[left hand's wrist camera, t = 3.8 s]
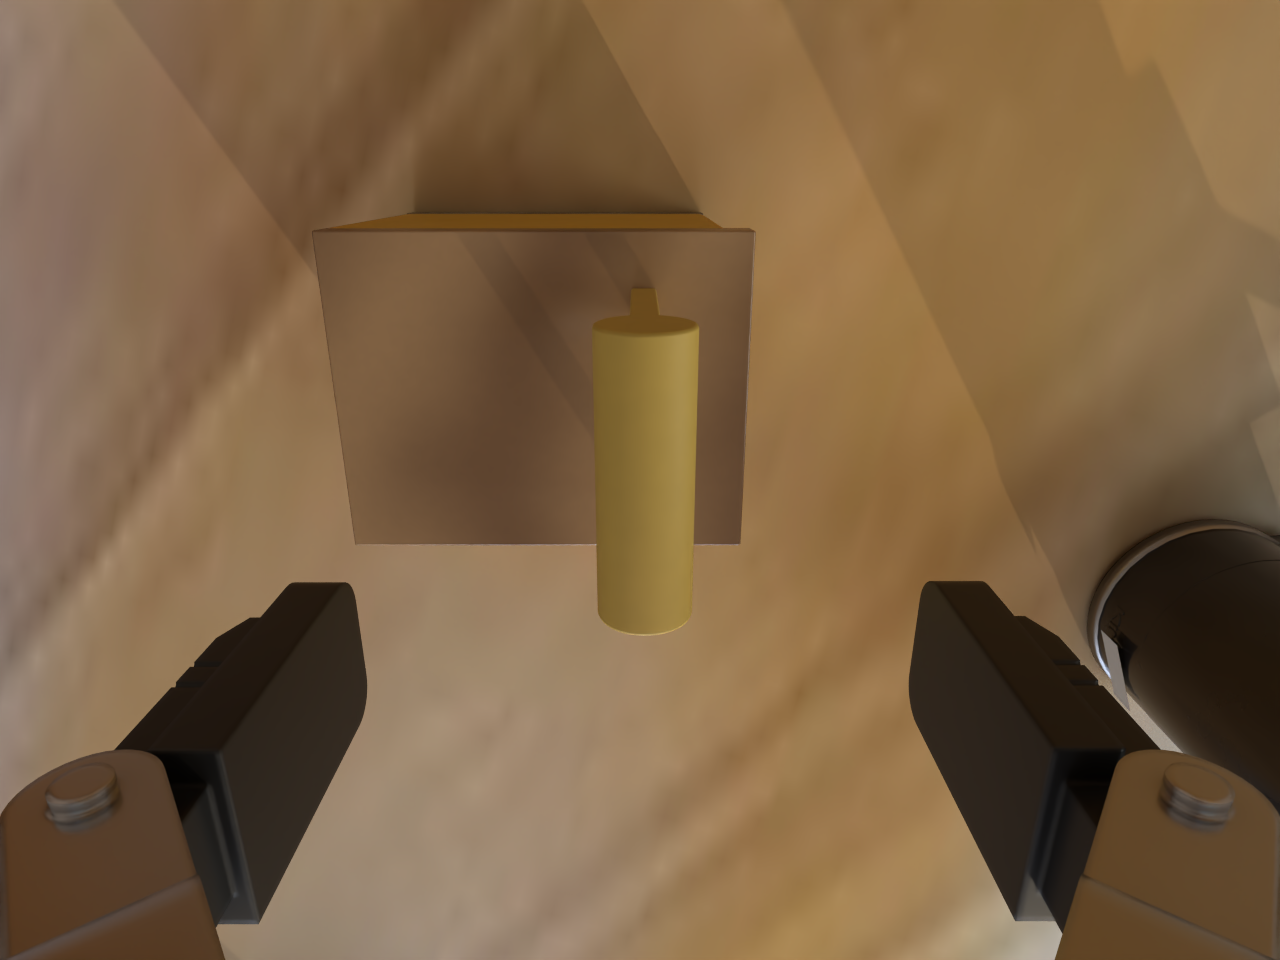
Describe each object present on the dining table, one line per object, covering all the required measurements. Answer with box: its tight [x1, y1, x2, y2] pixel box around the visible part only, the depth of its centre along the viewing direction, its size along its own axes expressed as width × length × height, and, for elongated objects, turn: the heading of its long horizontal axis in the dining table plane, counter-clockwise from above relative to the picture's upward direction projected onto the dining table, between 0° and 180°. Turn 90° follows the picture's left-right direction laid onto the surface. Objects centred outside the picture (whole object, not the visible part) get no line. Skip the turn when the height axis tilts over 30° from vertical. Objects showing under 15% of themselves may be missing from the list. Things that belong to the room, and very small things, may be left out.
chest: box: [332, 213, 722, 228], centre depth 29 cm, size 11×10×10 cm
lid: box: [312, 228, 756, 636], centre depth 21 cm, size 12×10×9 cm
